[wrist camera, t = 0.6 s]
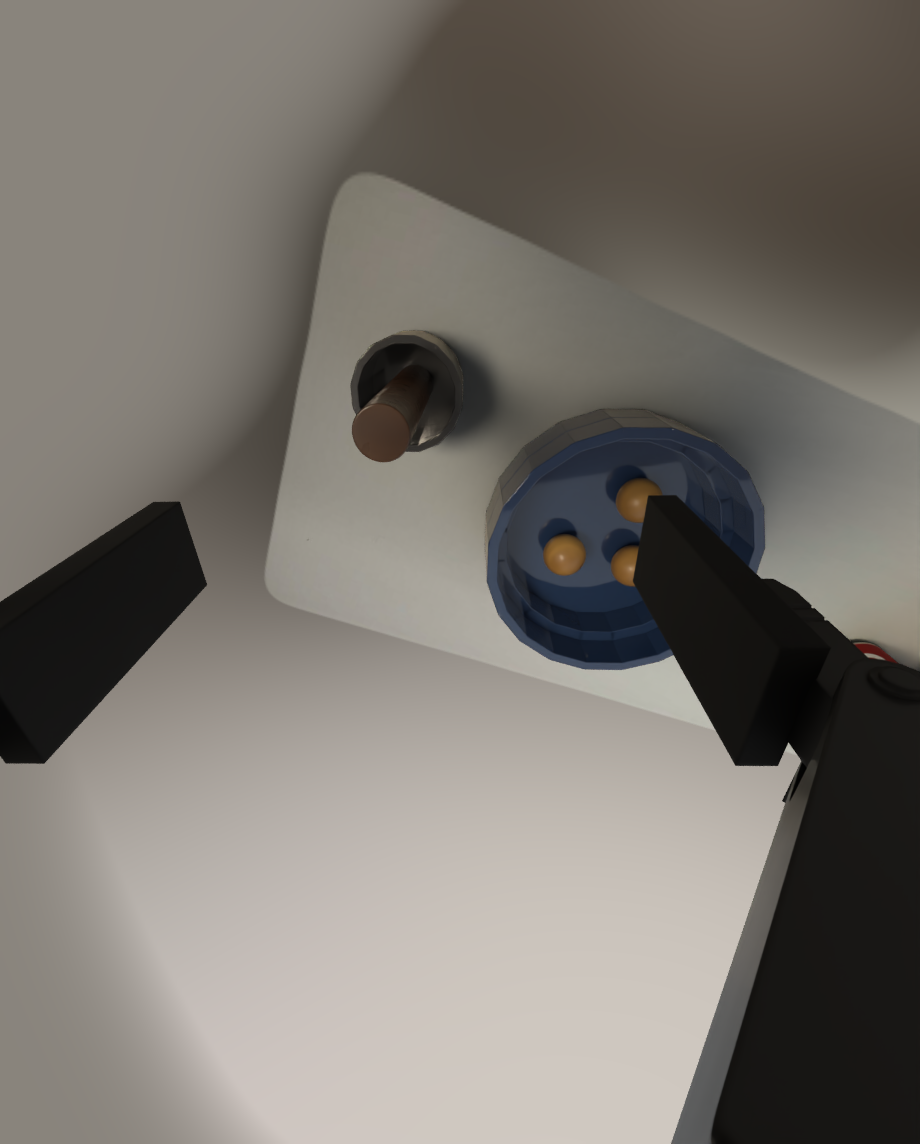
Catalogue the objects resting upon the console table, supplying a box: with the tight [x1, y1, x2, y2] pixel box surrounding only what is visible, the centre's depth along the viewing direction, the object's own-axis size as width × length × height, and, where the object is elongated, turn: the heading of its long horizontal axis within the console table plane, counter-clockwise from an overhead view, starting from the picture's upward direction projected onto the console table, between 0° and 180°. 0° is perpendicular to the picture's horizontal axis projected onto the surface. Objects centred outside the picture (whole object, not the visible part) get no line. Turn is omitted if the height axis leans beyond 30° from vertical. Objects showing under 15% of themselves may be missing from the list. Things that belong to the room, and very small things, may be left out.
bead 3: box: [616, 478, 663, 523], centre depth 39 cm, size 4×4×4 cm
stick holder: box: [350, 330, 463, 452], centre depth 35 cm, size 7×7×6 cm
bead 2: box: [611, 545, 639, 586], centre depth 42 cm, size 4×4×4 cm
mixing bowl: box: [485, 409, 765, 670], centre depth 40 cm, size 21×21×7 cm
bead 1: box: [543, 534, 586, 576], centre depth 42 cm, size 4×4×4 cm
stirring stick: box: [352, 365, 433, 462], centre depth 30 cm, size 3×3×16 cm
